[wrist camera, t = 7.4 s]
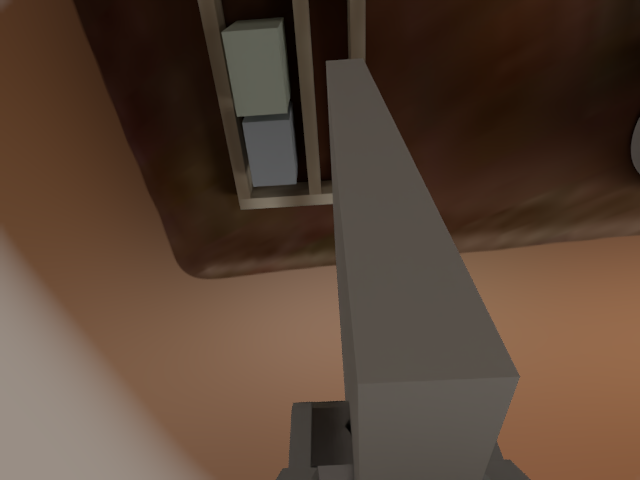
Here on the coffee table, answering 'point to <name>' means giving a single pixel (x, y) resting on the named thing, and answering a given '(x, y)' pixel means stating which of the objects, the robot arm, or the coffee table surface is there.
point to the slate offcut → (272, 148)
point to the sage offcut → (258, 66)
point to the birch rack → (314, 188)
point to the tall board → (406, 306)
